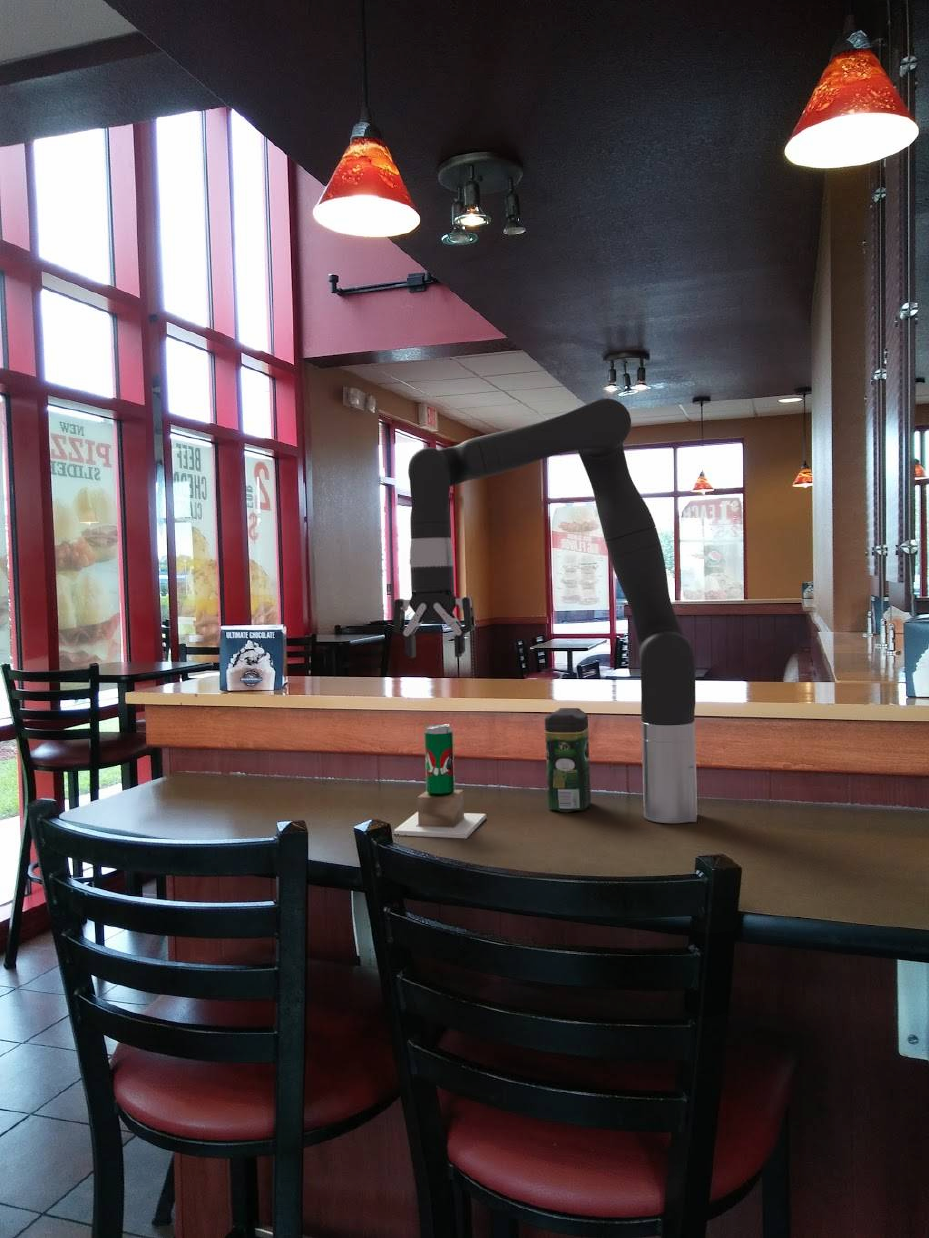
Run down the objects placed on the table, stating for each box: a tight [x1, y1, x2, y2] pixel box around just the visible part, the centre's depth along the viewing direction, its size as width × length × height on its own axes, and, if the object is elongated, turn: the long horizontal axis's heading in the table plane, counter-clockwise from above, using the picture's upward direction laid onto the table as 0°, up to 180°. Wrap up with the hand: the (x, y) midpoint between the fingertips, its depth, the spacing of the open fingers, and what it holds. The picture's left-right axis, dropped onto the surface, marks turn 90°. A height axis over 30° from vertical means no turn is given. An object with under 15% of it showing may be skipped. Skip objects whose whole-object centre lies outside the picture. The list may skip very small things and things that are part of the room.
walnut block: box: [417, 789, 465, 827], centre depth 162 cm, size 6×6×5 cm
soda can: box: [423, 723, 456, 796], centre depth 162 cm, size 5×5×12 cm
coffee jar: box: [544, 707, 592, 813], centre depth 173 cm, size 10×8×19 cm
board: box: [393, 811, 487, 839], centre depth 163 cm, size 13×13×1 cm
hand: (435, 657), depth 161 cm, fingers open, 8 cm apart
